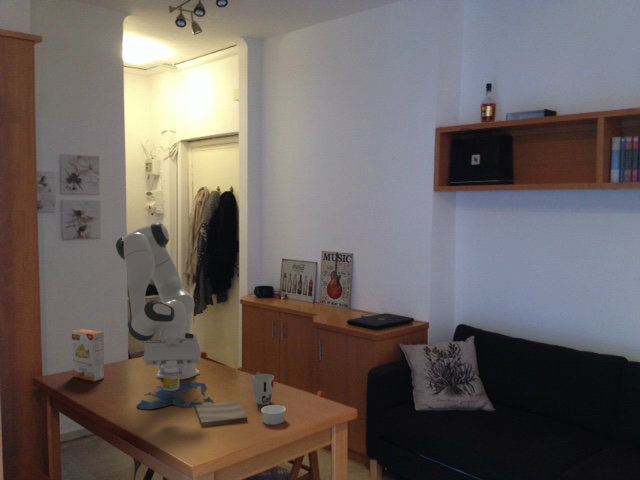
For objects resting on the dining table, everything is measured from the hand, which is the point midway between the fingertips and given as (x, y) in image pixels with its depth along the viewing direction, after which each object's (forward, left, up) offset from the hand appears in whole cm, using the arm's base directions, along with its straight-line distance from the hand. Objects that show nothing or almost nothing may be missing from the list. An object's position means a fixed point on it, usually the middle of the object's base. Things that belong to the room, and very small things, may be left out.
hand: (171, 373), depth 208 cm
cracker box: (-61, -31, -16) cm, 70 cm away
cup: (-7, +35, -16) cm, 39 cm away
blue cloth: (-25, +3, -17) cm, 30 cm away
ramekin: (+13, +34, -17) cm, 40 cm away
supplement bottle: (-1, 0, -6) cm, 6 cm away
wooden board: (+2, +17, -16) cm, 24 cm away
